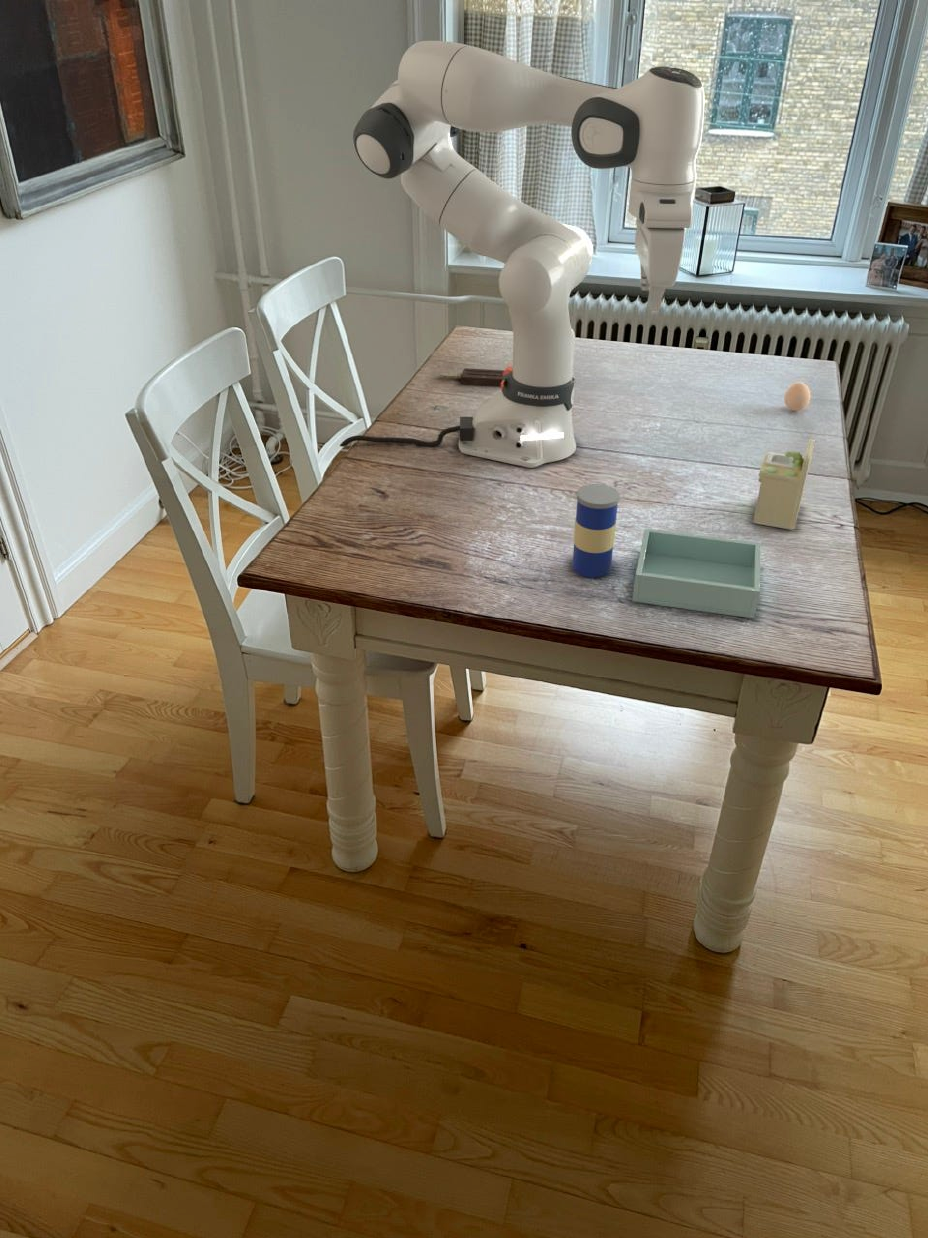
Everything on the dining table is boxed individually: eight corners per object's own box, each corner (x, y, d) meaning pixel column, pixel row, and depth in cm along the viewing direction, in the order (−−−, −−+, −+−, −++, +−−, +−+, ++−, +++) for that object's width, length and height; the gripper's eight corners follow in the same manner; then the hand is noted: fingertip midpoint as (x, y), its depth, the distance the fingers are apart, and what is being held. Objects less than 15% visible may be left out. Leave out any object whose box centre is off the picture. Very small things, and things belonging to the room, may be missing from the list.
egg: (782, 403, 202) (787, 376, 198) (807, 406, 200) (813, 379, 197) (781, 413, 198) (787, 386, 194) (807, 416, 197) (813, 389, 193)
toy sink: (756, 500, 168) (770, 430, 160) (799, 507, 166) (816, 437, 158) (749, 523, 162) (763, 451, 154) (794, 531, 160) (810, 459, 152)
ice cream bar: (438, 382, 211) (506, 386, 209) (438, 375, 210) (507, 379, 208) (442, 373, 215) (509, 377, 213) (442, 366, 214) (509, 370, 212)
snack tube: (568, 575, 149) (573, 501, 141) (574, 554, 154) (580, 481, 146) (608, 580, 148) (616, 506, 140) (614, 559, 152) (622, 486, 145)
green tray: (632, 601, 143) (635, 574, 140) (641, 554, 154) (644, 528, 151) (754, 618, 140) (760, 591, 137) (755, 569, 150) (760, 543, 147)
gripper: (630, 183, 144) (621, 277, 152) (646, 217, 128) (635, 321, 136) (673, 184, 144) (661, 278, 152) (694, 218, 128) (680, 321, 136)
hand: (649, 299), depth 144 cm, fingers open, 8 cm apart
